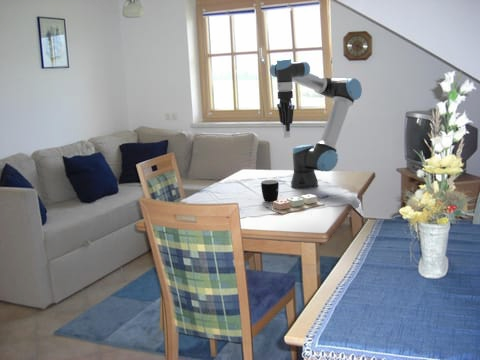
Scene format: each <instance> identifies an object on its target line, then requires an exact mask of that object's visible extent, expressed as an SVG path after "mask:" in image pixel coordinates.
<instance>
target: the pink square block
mask: <svg viewBox="0 0 480 360" xmlns="http://www.w3.org/2000/svg"><path fill="white" fill-rule="evenodd" d="M272 206H273V207H274V208H276V209H279V210H283V209H287V208H290V202H289V201H287V199H283V198H282V199H279V200H278V199H277V201H273V202H272Z"/></svg>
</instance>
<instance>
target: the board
mask: <svg viewBox="0 0 480 360" xmlns="http://www.w3.org/2000/svg"><path fill="white" fill-rule="evenodd" d="M320 206H321V207H322V206H325V203H323V202H320V201H318V200H317V202H315V203H311V204H305V203H304V205H301V206H297V207H292V206H290V208H287V209H283V210H279V209H276V208H274V207H273V205H269V206H267V207H268V208H270V209H269V210H271V209H273V210H275V211H277V212H276V213H278V212H279V213H278V214H281V215H284V214H285V215H286V214H288V213H292V212H299V211H303V210H306V209H307V210H308V209H312V208H315V207H316V208H317V207H320ZM268 208H267V209H268ZM273 210H272V211H273ZM275 211H274V212H275Z"/></svg>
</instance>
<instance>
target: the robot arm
mask: <svg viewBox="0 0 480 360" xmlns="http://www.w3.org/2000/svg"><path fill="white" fill-rule="evenodd" d="M269 72H270V75H271V76H272V78H276V83H277V84H276V86H277V99H278V100H279V103H277V104H276V107H277V110H278V115H279V120H280V121H279V122H280V123H281V124H282V126H283V127H282V128H283V138H285V139H287V138H290V137H291V127H290V126H291V124H293V119H294V110H295V107H296V106H295V105H294V104H292V99H293V98H294V95H293V93H294V92H293V83H295V84H297V85H300V86H302V87H306V88H308V89H311V90H314V91H313V92H315V93H316V94H319V95H322V96H323V97H326V98H330V99H332V100H333V104H332V107H331V109H330V113H329V116H328V118H327V121H326V124H325V127H324V130H323V133H322V136H321V137H320V141H319V142H316V144H315V146H314V144H304V145H297V146H295V147H293V149H292V150H293V151H292V162H293V163H292V164H293V174H292V178H291V180H290V186H291V188H293V189H301V190H302V189H314V188H317V187H318V185H319V184H318V183H319V181H318V178H317V176H316V173H315V171H320V172H330V171H332V170H334V169H335V167H336V166H337V164H338V162H339V158H338V157H339V156H338V153H337V148H336V146H337V142H338V139H339V137H340V134H341V130H342V127H343V125H344V122H345V120H346V116H347V114H348V112H349V108H350V107H351V106H353V105H354V102H355V101H357V100H359V99H360V98H361V96H362V92H363V90H362V89H363V88H362V85H361V82H360V81H359V80H358V79H357V78H355V77H325V76H319V75H316V74H312V73H310V72H311V66H310V63H308V62H307V61H294V62H293V61H292V59H291V58H283V59H277V61H276V62H274V63H272V64H271V65H270V67H269Z"/></svg>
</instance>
